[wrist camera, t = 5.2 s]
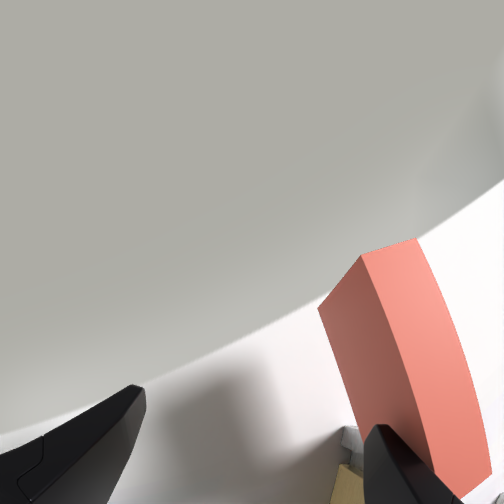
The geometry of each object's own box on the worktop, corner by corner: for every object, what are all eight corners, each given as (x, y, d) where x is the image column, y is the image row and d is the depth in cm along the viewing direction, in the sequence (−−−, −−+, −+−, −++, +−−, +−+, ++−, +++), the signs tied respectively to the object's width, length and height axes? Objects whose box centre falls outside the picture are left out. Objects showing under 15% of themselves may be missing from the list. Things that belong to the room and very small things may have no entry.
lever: (433, 531, 8) (500, 563, 3) (390, 556, 8) (447, 602, 3) (362, 293, 13) (420, 236, 8) (313, 309, 13) (354, 256, 8)
